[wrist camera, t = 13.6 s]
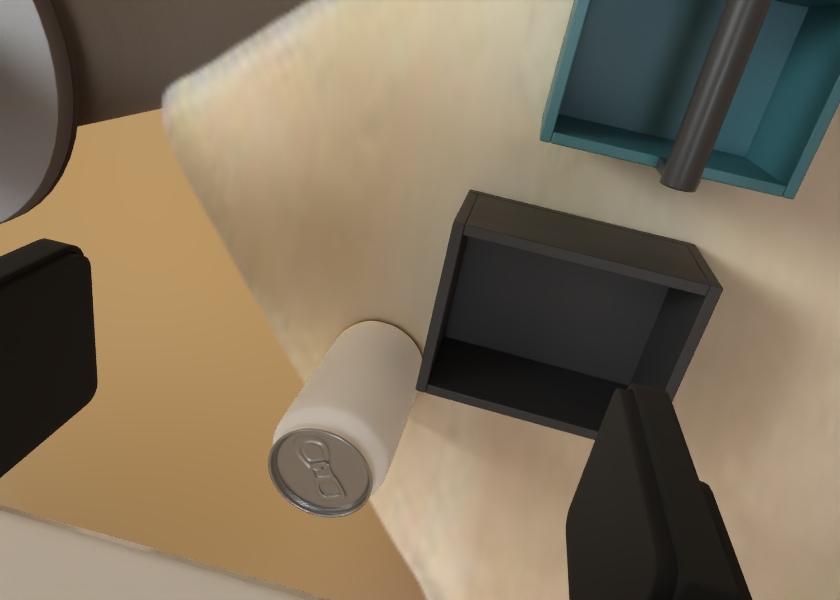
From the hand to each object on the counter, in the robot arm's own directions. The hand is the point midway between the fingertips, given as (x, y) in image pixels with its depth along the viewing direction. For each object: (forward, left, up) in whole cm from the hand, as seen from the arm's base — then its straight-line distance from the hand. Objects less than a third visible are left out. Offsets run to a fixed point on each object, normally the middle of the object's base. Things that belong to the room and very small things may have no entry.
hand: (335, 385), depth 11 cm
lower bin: (+6, -8, -27) cm, 29 cm away
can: (-4, -16, -27) cm, 32 cm away
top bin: (+8, +6, -27) cm, 29 cm away
